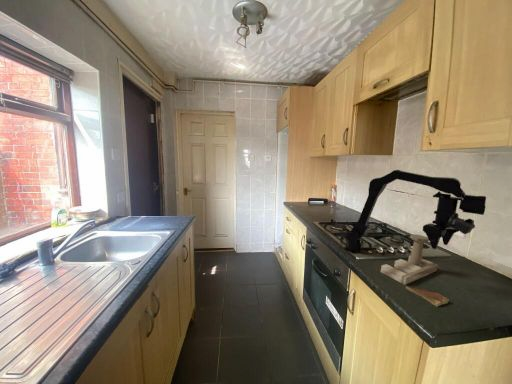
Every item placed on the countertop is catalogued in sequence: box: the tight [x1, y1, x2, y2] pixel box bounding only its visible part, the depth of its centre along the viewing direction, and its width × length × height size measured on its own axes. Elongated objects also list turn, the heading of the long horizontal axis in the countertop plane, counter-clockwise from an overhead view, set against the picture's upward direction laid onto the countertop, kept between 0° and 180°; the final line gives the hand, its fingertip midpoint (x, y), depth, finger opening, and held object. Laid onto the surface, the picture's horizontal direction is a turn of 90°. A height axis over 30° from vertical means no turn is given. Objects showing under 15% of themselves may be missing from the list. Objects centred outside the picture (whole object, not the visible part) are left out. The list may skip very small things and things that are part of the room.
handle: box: [409, 233, 430, 266], centre depth 95 cm, size 5×6×15 cm
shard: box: [404, 285, 450, 307], centre depth 78 cm, size 11×8×2 cm
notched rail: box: [380, 255, 438, 286], centre depth 93 cm, size 10×24×3 cm, turn 117°
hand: (439, 246), depth 88 cm, fingers open, 9 cm apart
